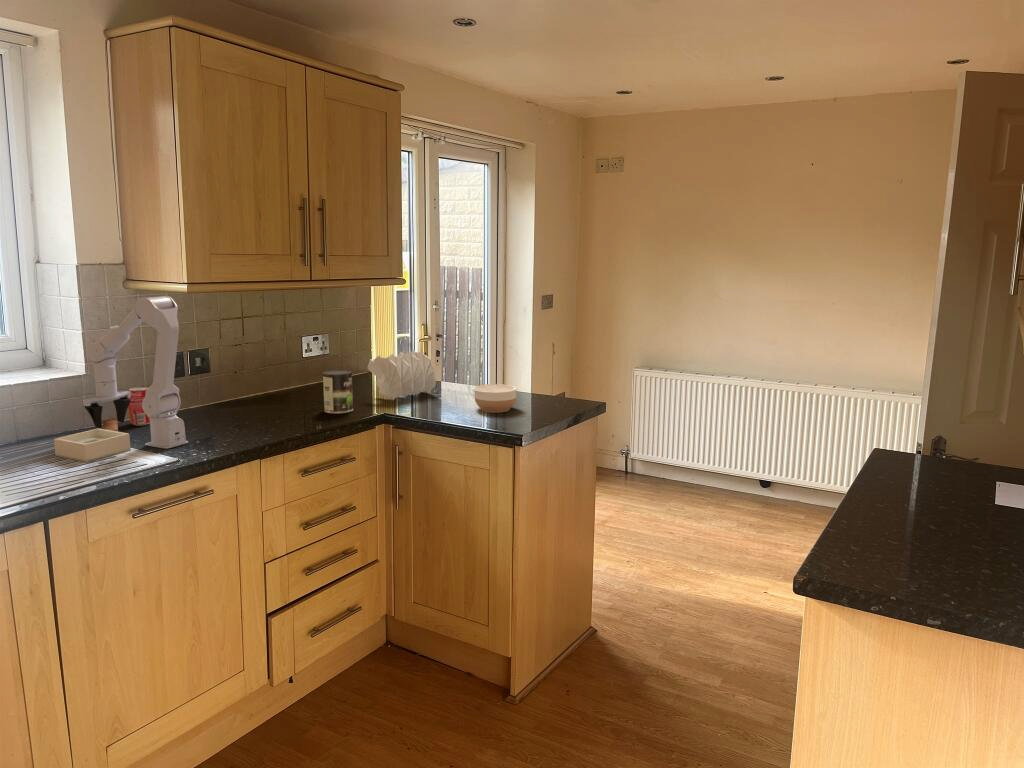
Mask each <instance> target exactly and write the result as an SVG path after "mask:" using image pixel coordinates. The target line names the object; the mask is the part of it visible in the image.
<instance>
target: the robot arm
mask: <svg viewBox="0 0 1024 768" xmlns="http://www.w3.org/2000/svg"><path fill="white" fill-rule="evenodd" d="M178 309H179V306H178V305H177V303H176V301H175V300H174V299H173V298H172V297H171V296H169V295H162V296H151V297H140V298H139V299H138V300H137V301H136V302H135V303H134V304H133V305H132V309H131V310H130V312H129V313H128V314H127V316H126V317H125V318H124V319H123V320H122V322H121V323H120V324H118V325H114V326H109V327H108V328H107V330H108V331H107V332H106V333H105V334H104V335H103V336H101V337H99V340H98V341H97V342H96V341H95V342H91V343H90V344H89V346H87V347H88V348H87V356H88V358H89V359H90V361H92V362H93V363H92V364H93V373H94V375H93V376H94V385H95V395H93V396H91V397H87V398H83V399H82V405H83V406H84V409H85V410H86V411H87V412H88V414H89V415H90V418H91V419H92V422H93V424H94V427H95V428H96V429H97V428H99V429H102V428H103V423H102V420H103V419H102V414H103V406H102V405H100V404H103V403H107V402H113V404H114V408H115V413H116V419H117V423H124V422H125V419H126V414H127V410H128V406H129V404H130V402H131V400H130V399H128V398H130V397H131V393H130V391H129V390H125V391H118V385H117V384H118V381H117V371H116V365H117V358H119V353H120V349H122V347H124V345H125V344H126V343H127V342H129V340H130V339H131V337H130V334H131V333H132V332H133V330H135V329H136V328H137V327H138V326H139V325H141V324H142V323H143V322H145V323H147V325H149V326H150V327H152V328H153V329H155V330H156V333H157V337H156V344H155V345H156V347H155V357H154V366H153V367H154V368H153V377H152V378H153V379H152V383H151V384H150V386H149V387H148V389H147V390H146V395H145V398H144V399H143V401H142V408H143V411H144V412H145V414H147V416H148V417H149V418H150V424H149V426H150V427H149V429H150V439H151V440H150V442H146V443H145V444H144V445H145V446H149V447H153V448H160V449H165V450H167V449H168V450H169V449H170V448H175V447H179V446H181V445H186V444H189V441H188V440H187V439H186V437H187V436H186V427H185V422H184V420H183V418H180V417H178V416H177V414H178V410H179V409H180V407H181V404H182V400H181V396H180V388H179V387H177V385H175V384H174V381H175V371H176V370H175V369H176V362H177V352H178V341H179V333H180V324H179V319H178Z"/></svg>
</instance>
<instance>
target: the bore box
mask: <svg viewBox="0 0 1024 768" xmlns="http://www.w3.org/2000/svg"><path fill="white" fill-rule="evenodd" d="M53 445H54V454H55V457H60V458H63V459H64V458H65V459H67V460H68V459H69V460H74V461H77V462H78V461H79V462H85V463H90V462H93V461H96V460H101V459H104V458H108V457H111V456H116V455H118V454H123V453H126V452H129V451H131V450H132V449H131V438H130V433H127V432H122V431H118V432H117V431H111V430H105V429H103V428H97V427H96V428H94V429H89V430H87V431H82V432H77V433H73V434H69V435H64V436H60V437H56V438H53Z"/></svg>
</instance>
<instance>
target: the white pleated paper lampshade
mask: <svg viewBox="0 0 1024 768" xmlns="http://www.w3.org/2000/svg"><path fill="white" fill-rule="evenodd" d="M424 353H425V352H424V351H423V352H422V351H417V352H416V351H415V349H413V350H412V351H410V352H409V353H403V351H400V352H399V353H398V354H397V355H396V356H395V355H394V354H393V353H392V354H390V355H388V356H387V357H385V356H383V357H382V356H381V354H380V355H378V356H376V357H375V358H374V359H371V358H370V359H369V362H368V365H367V370H369V371H370V372H371V373H372V374H373V375H374V376H375V377H376V381H375V384H376V386H377V388H378V389H379V390H378V394H379V395H382V396H383V397H384V399H385V400H391V399H392V401H395V400H396V398H399V397H402V398H403V399H405V398H407V396H408V395H410V396H412V395H414V394H417V395H419V394H420V393H422V392H426V393H428V394H429V392H431V390H432V389H433V388H435V387H436V382H437V377H436V371H437V370H436V368H435V366H434V364H433V362H432V358H430V357H429V356H428V355H426V354H424Z"/></svg>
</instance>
